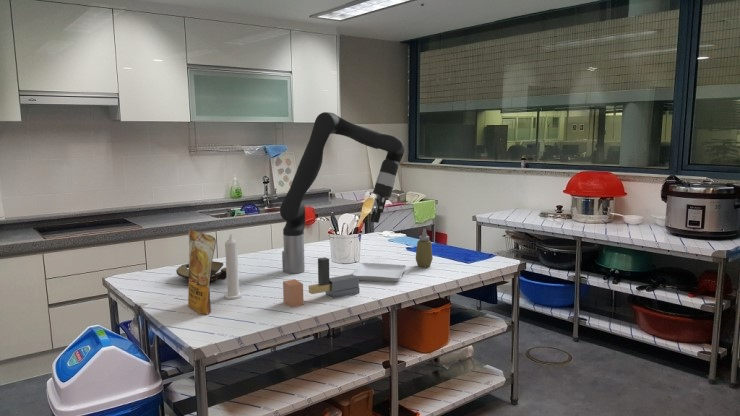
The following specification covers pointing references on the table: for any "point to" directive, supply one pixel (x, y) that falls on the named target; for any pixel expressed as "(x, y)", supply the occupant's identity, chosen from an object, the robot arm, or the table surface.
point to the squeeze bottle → (424, 251)
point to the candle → (232, 269)
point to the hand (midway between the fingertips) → (373, 222)
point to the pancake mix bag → (200, 270)
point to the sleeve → (343, 286)
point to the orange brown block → (293, 293)
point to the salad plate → (379, 272)
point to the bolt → (322, 277)
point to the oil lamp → (215, 268)
